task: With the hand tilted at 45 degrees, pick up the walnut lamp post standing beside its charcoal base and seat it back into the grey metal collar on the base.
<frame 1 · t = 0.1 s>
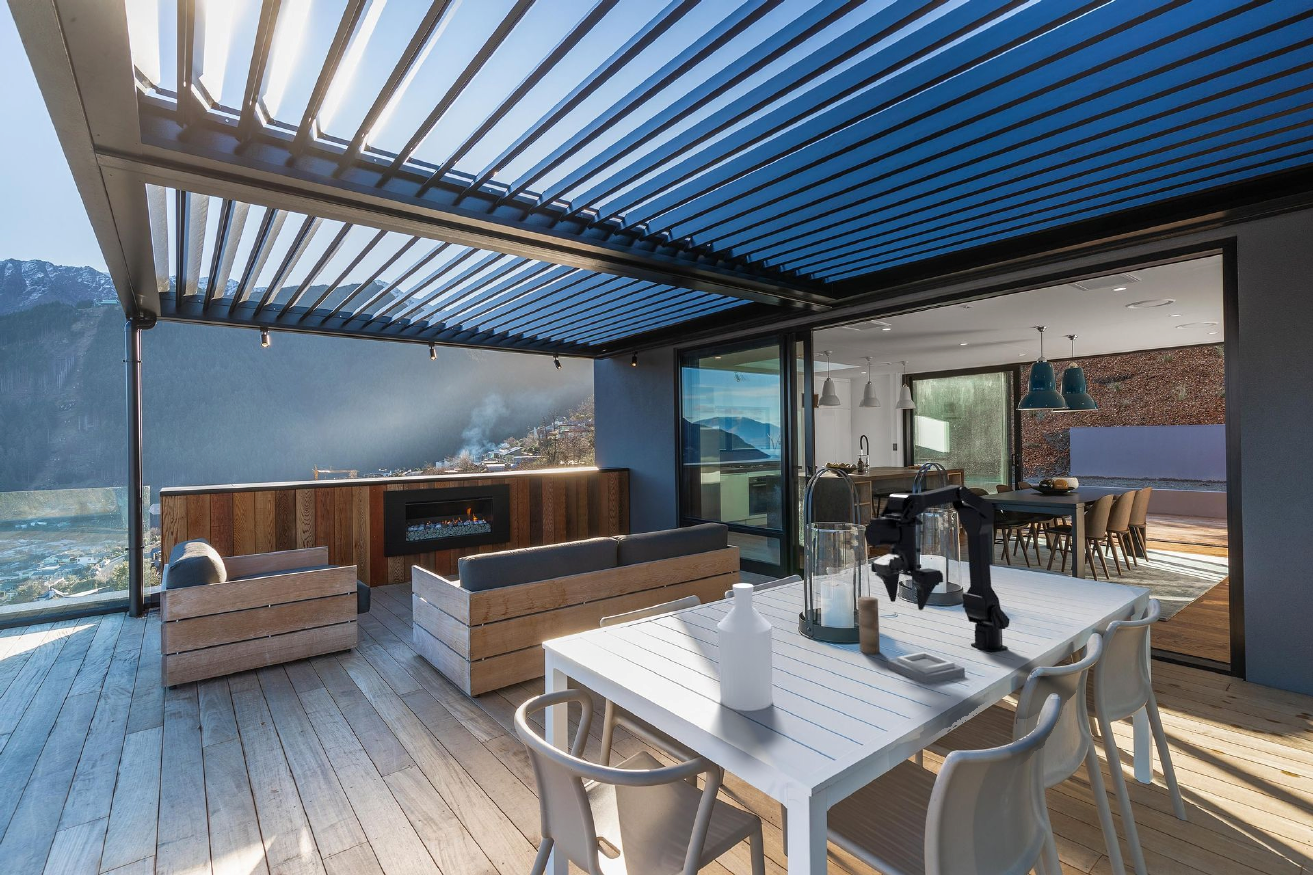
hand: (906, 605, 153), 15 cm above the table, tool pointing down, fingers open, 9 cm apart
base: (925, 672, 147), on the table
post: (869, 651, 163), on the table
bottle: (746, 700, 133), on the table
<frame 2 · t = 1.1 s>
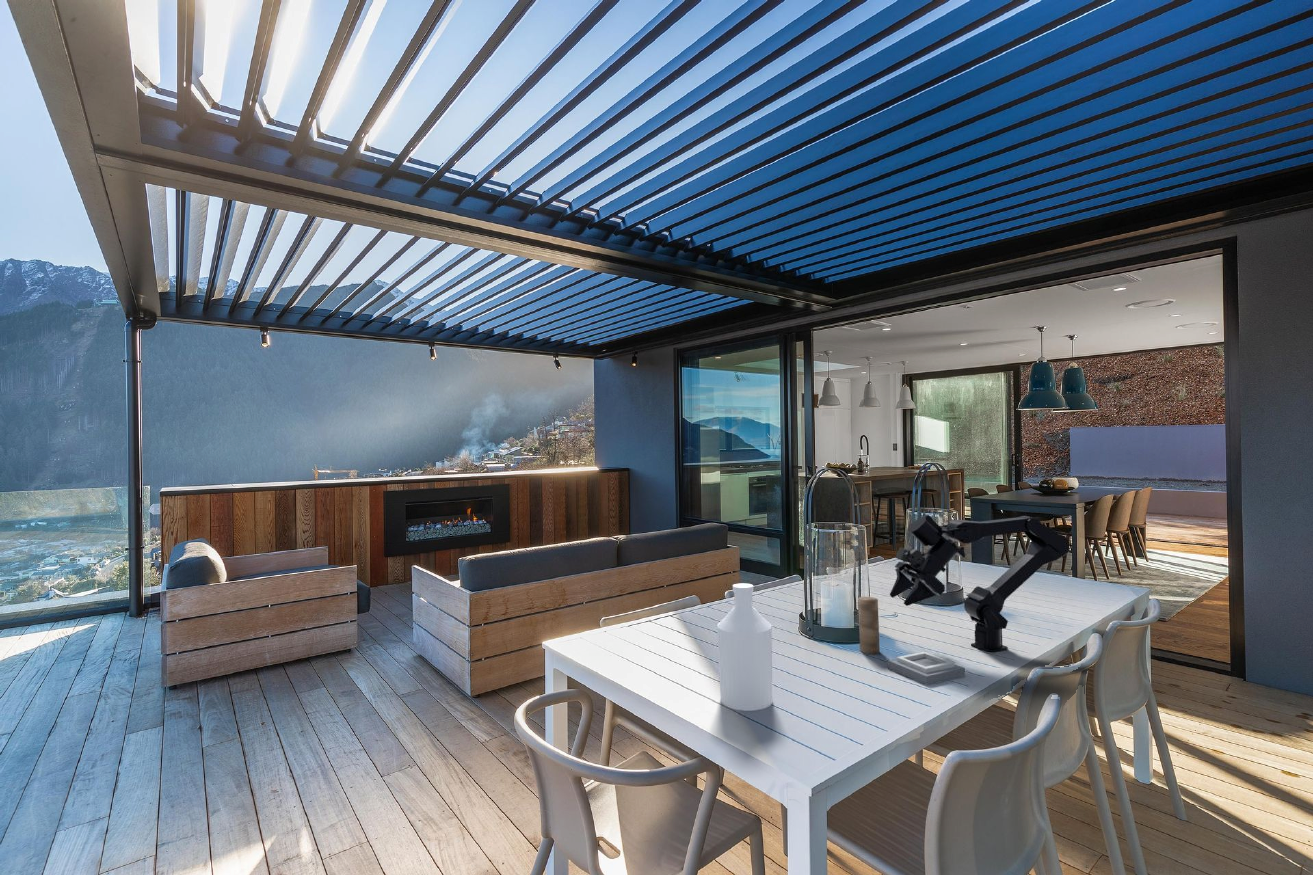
hand: (897, 600, 163), 13 cm above the table, tool tilted 45°, fingers open, 9 cm apart
nothing on the table moved.
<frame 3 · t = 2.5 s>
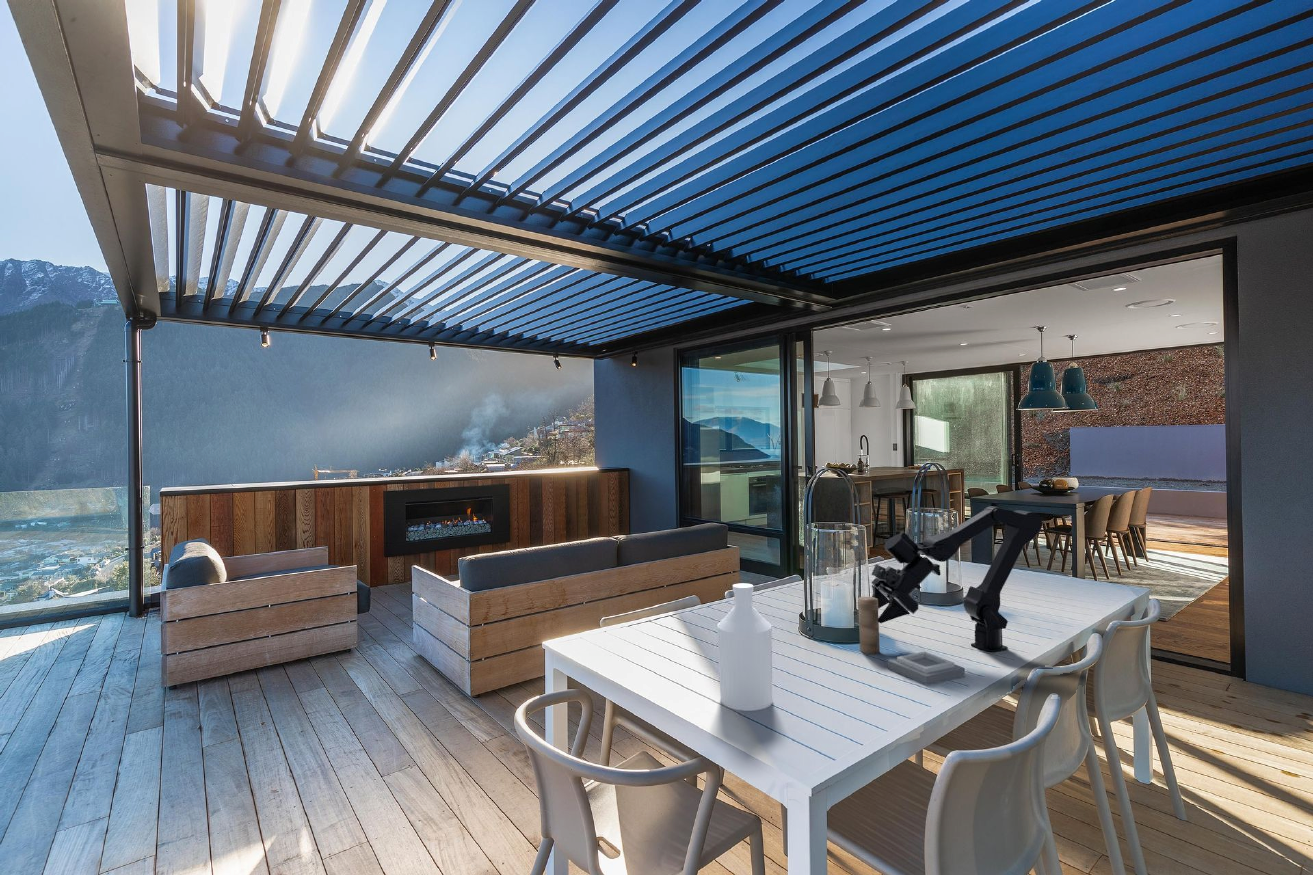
hand: (872, 617, 163), 9 cm above the table, tool tilted 45°, fingers open, 9 cm apart
nothing on the table moved.
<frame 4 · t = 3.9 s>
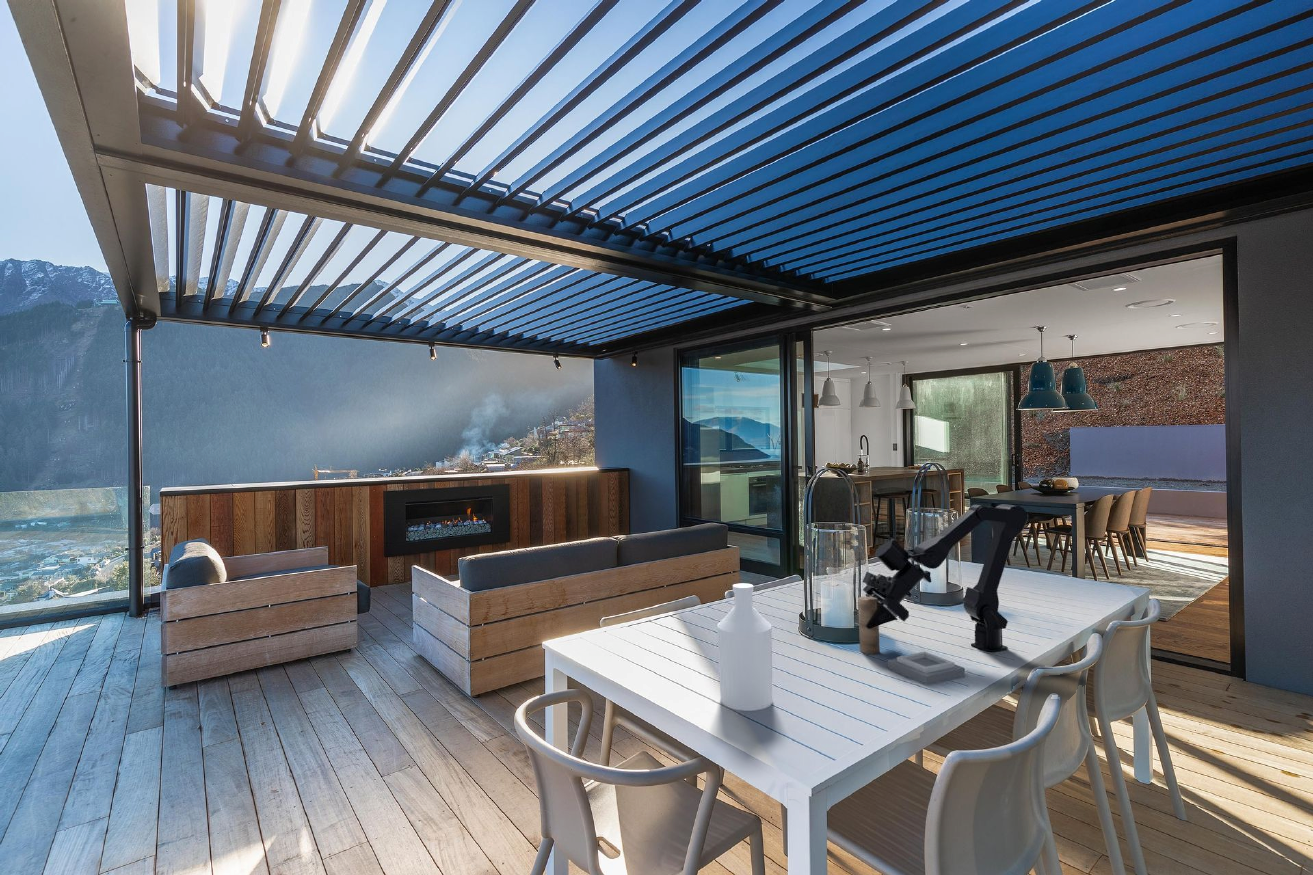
hand: (863, 624, 163), 7 cm above the table, tool tilted 45°, fingers closed on post, 5 cm apart
post: (869, 651, 163), on the table, touching gripper
everything else where it was.
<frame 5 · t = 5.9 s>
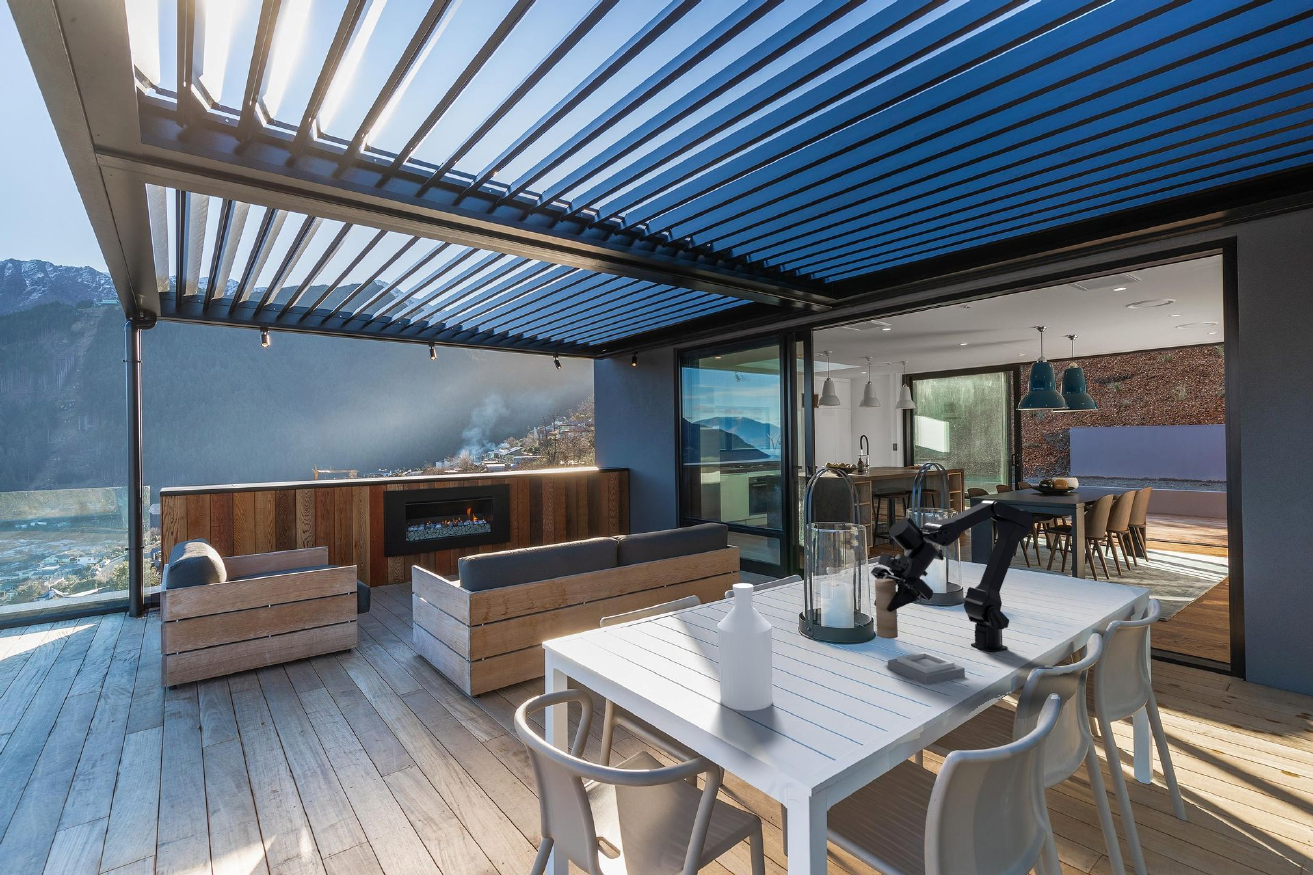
hand: (881, 608, 156), 13 cm above the table, tool tilted 45°, fingers closed on post, 5 cm apart
post: (887, 635, 156), point 6 cm above the table, touching gripper
everything else where it was.
when the fingers open (10 cm above the table, at t = 7.9 s): post drops 1 cm, resting on base.
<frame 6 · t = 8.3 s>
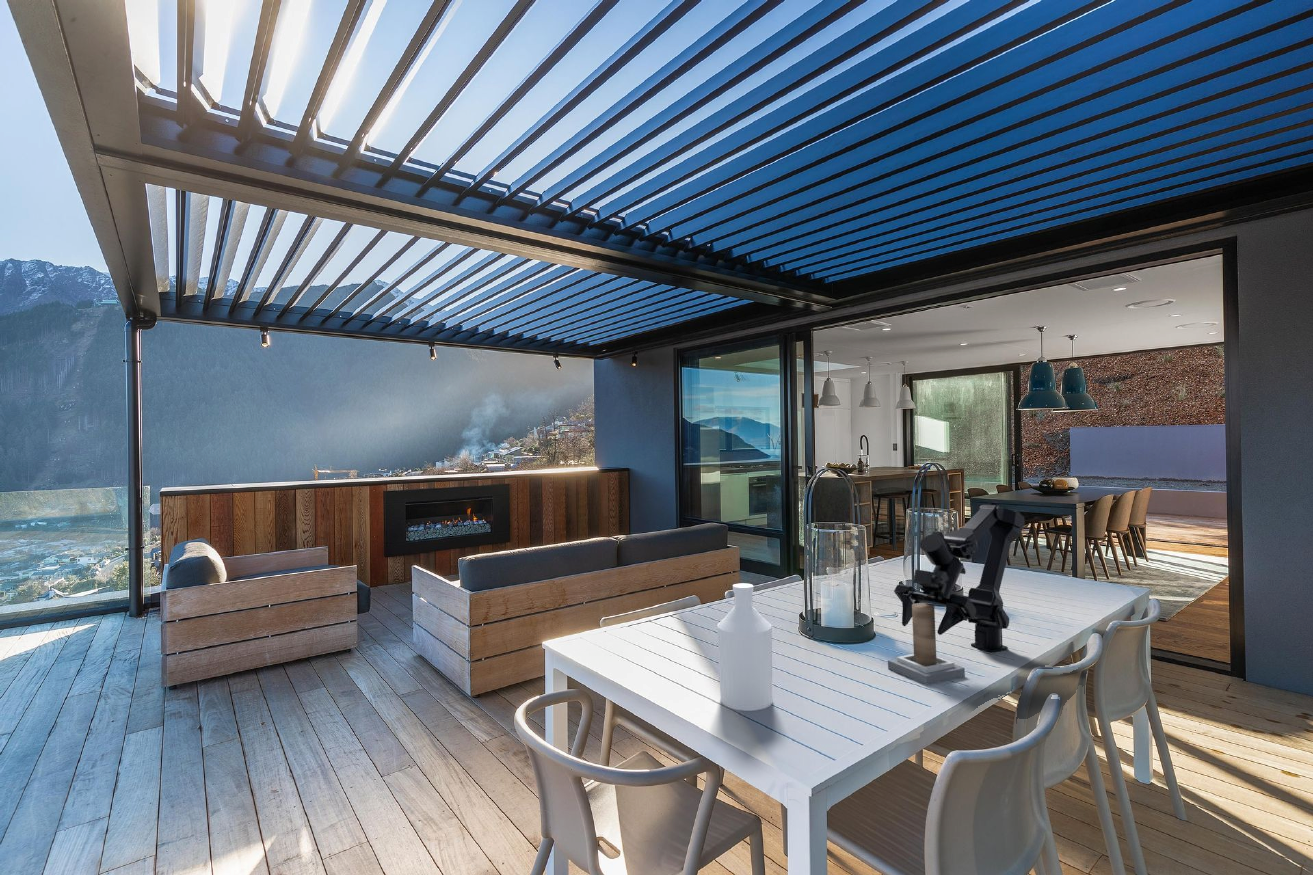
hand: (920, 629, 146), 11 cm above the table, tool tilted 45°, fingers open, 9 cm apart
post: (925, 663, 147), point 2 cm above the table, touching base
everything else where it was.
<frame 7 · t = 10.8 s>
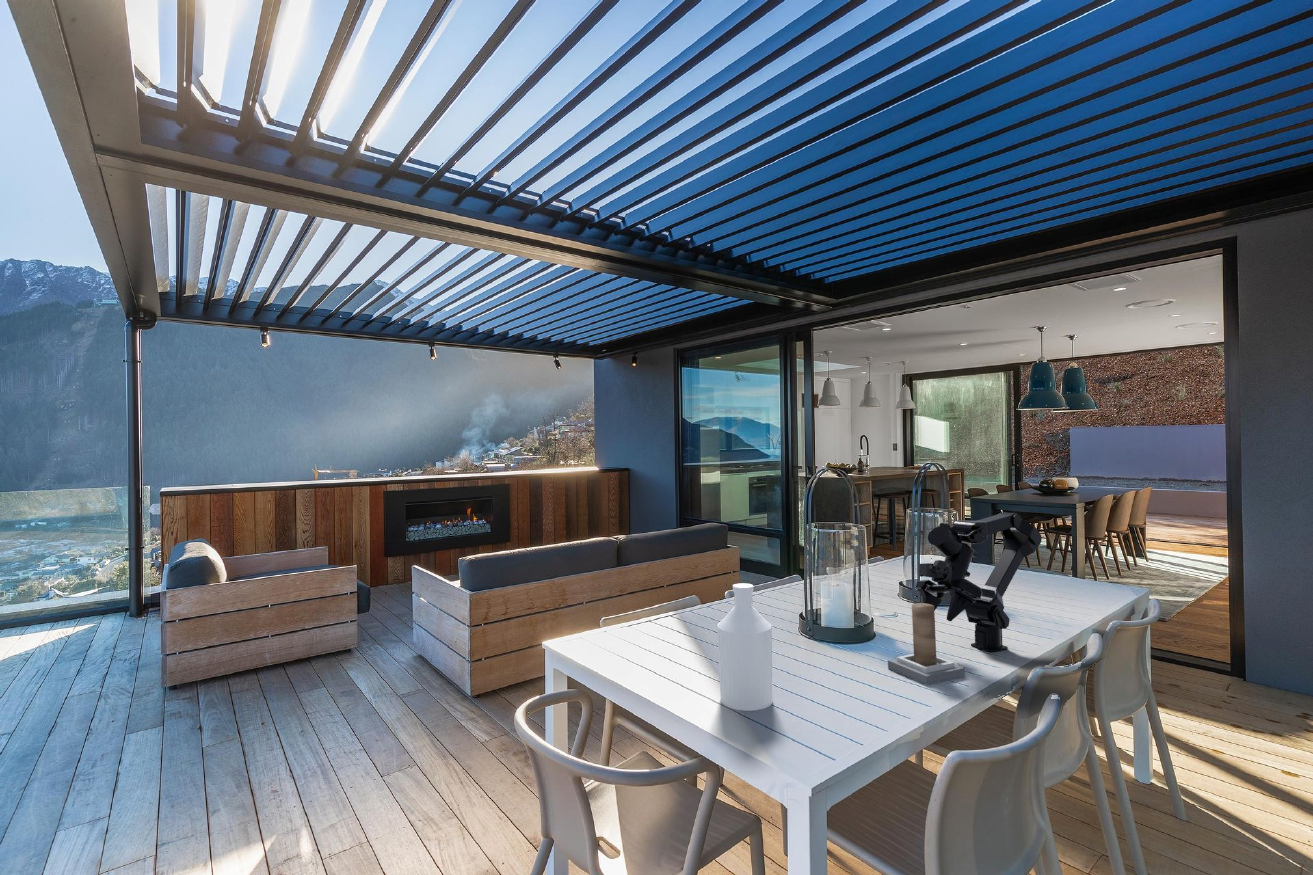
hand: (936, 619, 153), 11 cm above the table, tool tilted 35°, fingers open, 9 cm apart
nothing on the table moved.
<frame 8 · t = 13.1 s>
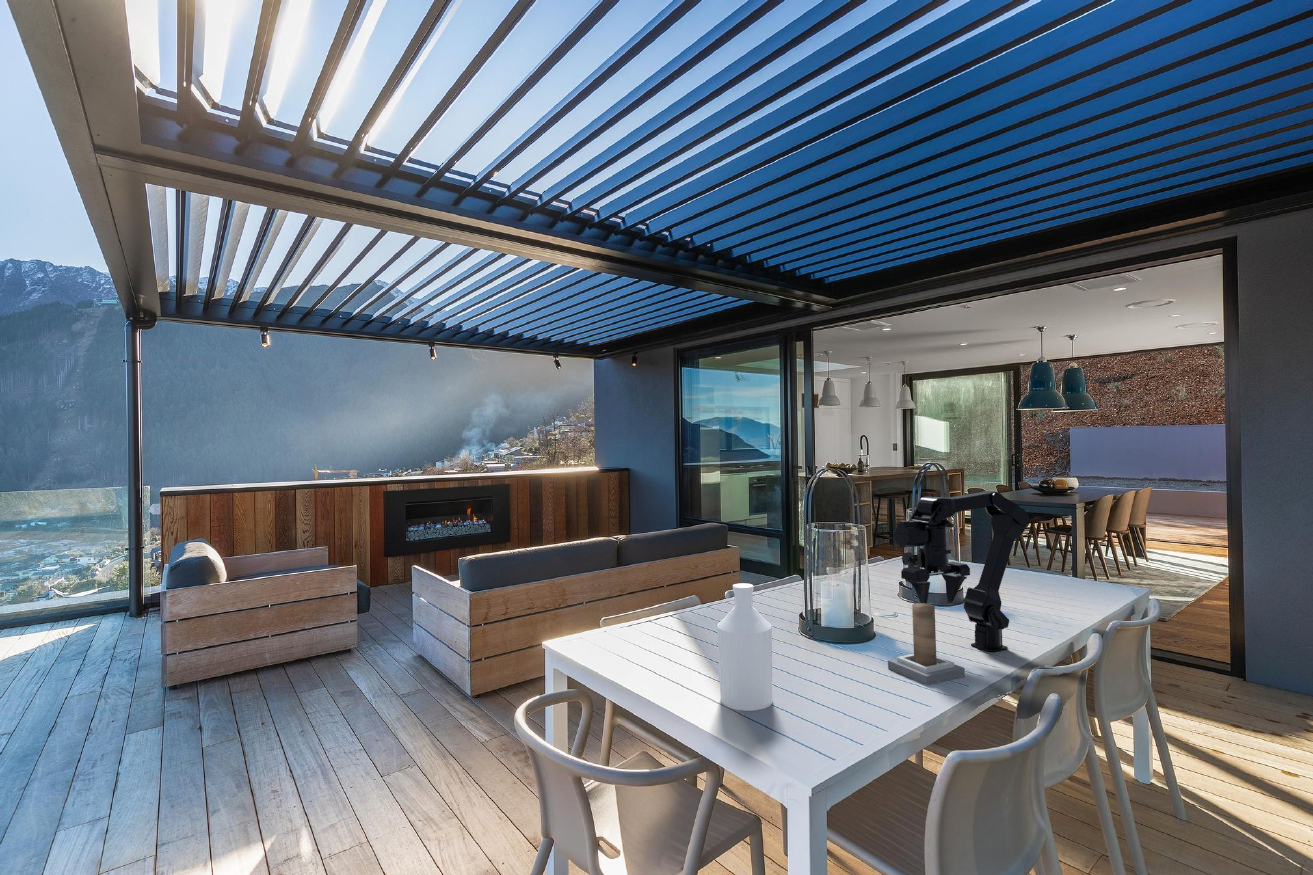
hand: (937, 604, 159), 13 cm above the table, tool pointing down, fingers open, 9 cm apart
nothing on the table moved.
at the end: post 0.0 cm off-centre on the base, point 2.0 cm above the base's base; post tilted 0°; the gripper is holding nothing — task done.
